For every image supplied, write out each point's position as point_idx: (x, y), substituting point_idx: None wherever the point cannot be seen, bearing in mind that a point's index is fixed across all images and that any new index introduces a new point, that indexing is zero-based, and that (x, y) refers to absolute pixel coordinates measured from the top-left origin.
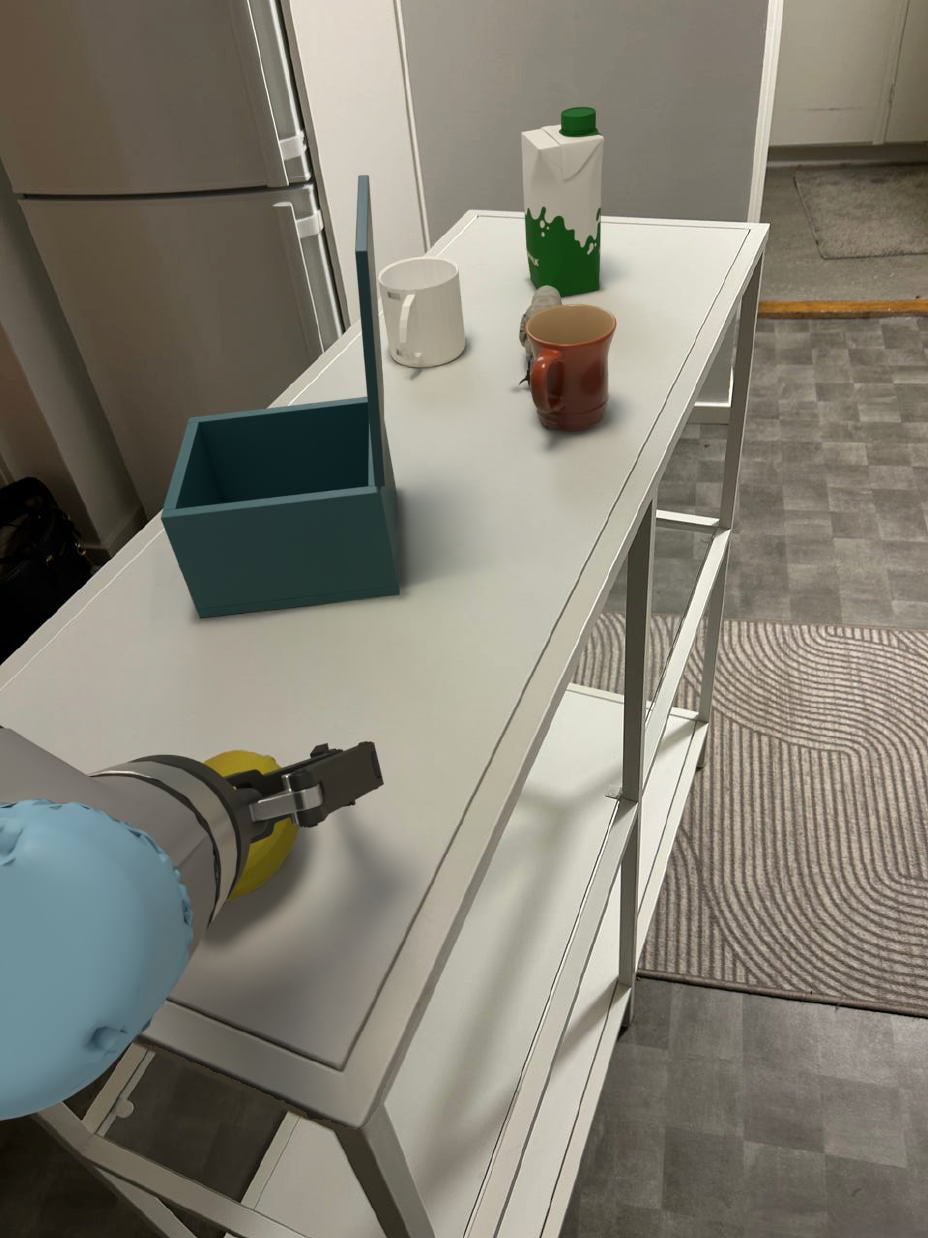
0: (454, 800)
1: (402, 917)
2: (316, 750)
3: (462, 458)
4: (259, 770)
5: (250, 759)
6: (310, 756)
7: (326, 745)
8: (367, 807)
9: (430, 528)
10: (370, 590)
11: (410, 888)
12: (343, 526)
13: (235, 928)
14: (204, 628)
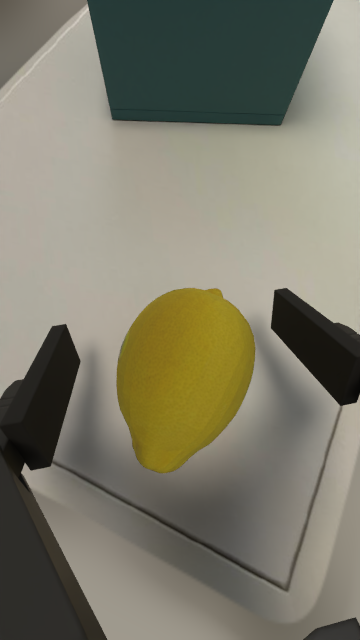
0: None
1: (319, 441)
2: (332, 331)
3: None
4: (236, 331)
5: (223, 314)
6: (356, 360)
7: (303, 301)
8: None
9: None
10: (261, 115)
11: (323, 413)
12: (279, 17)
13: None
14: (117, 130)
